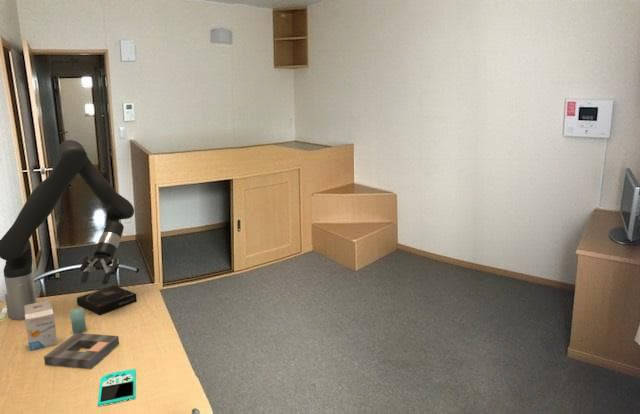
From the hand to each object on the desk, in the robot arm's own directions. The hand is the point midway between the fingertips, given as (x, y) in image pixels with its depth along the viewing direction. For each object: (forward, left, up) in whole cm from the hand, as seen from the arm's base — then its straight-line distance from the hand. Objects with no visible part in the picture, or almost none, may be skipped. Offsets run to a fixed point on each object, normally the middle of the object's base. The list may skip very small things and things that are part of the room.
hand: (93, 283), depth 183 cm
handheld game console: (+34, -42, -15) cm, 56 cm away
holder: (+12, -26, -14) cm, 32 cm away
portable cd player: (-4, +13, -15) cm, 20 cm away
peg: (0, -11, -14) cm, 18 cm away
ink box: (-6, -22, -14) cm, 27 cm away
